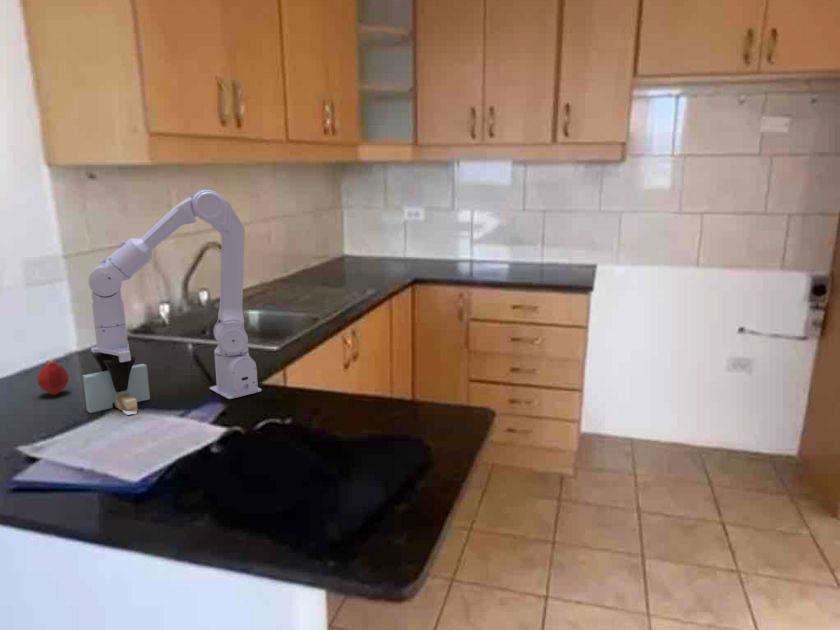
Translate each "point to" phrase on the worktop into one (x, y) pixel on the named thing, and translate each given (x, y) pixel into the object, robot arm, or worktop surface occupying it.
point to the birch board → (125, 402)
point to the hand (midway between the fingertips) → (117, 387)
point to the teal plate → (103, 390)
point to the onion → (53, 378)
